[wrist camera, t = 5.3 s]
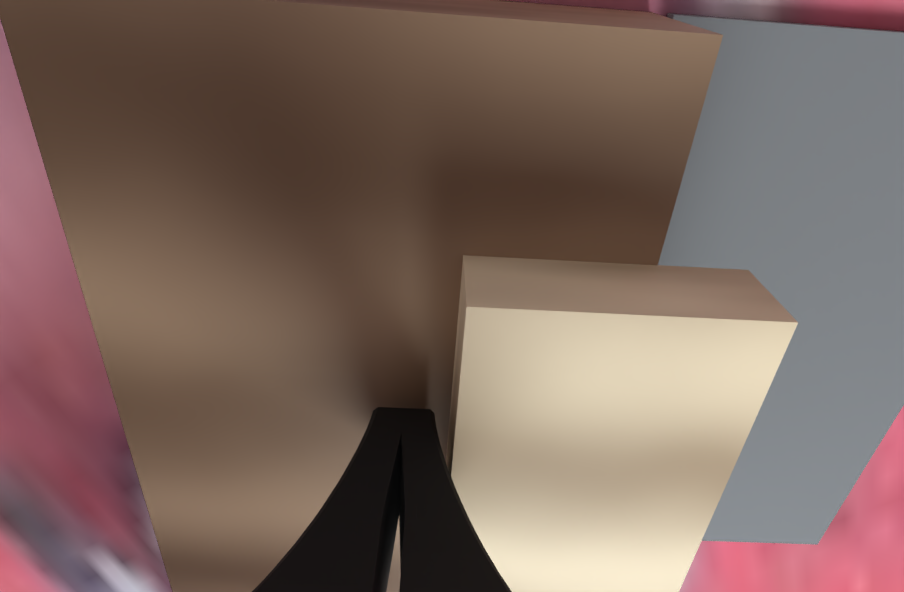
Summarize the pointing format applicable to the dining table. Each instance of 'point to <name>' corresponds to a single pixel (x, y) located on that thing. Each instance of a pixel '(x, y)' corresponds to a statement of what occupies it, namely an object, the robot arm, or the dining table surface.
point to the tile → (603, 413)
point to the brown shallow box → (327, 216)
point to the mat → (804, 253)
